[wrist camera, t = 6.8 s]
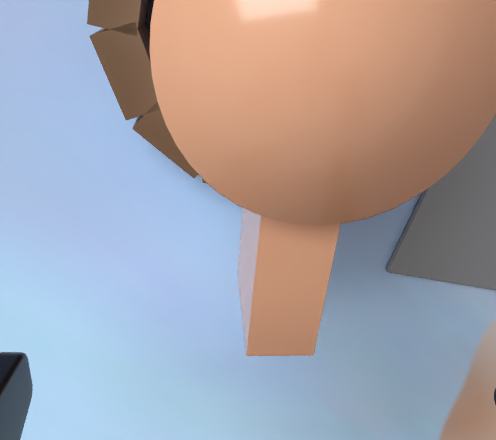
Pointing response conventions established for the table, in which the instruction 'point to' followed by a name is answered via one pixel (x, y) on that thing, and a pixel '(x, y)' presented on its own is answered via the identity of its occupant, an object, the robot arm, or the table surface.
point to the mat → (455, 223)
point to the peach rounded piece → (317, 126)
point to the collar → (132, 70)
